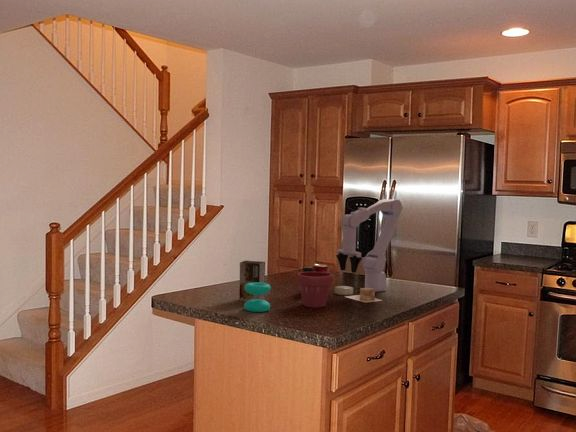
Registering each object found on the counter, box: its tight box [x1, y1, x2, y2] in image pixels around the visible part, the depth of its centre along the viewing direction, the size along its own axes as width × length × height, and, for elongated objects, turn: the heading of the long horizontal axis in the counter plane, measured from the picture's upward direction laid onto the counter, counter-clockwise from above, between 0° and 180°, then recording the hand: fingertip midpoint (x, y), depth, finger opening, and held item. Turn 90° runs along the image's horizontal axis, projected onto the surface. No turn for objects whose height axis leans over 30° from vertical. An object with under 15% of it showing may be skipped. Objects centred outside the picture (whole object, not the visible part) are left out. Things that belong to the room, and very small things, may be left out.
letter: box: [344, 294, 383, 304], centre depth 248 cm, size 10×14×1 cm
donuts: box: [243, 282, 272, 313], centre depth 220 cm, size 10×10×10 cm
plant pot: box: [297, 271, 334, 308], centre depth 232 cm, size 14×14×13 cm
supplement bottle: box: [299, 266, 314, 295], centre depth 255 cm, size 7×7×12 cm
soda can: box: [311, 263, 329, 273], centre depth 262 cm, size 7×7×12 cm
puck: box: [334, 285, 354, 296], centre depth 258 cm, size 8×8×3 cm
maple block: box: [359, 287, 376, 301], centre depth 246 cm, size 4×4×4 cm
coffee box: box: [238, 260, 266, 302], centre depth 237 cm, size 9×6×16 cm
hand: (348, 271), depth 259 cm, fingers open, 7 cm apart
